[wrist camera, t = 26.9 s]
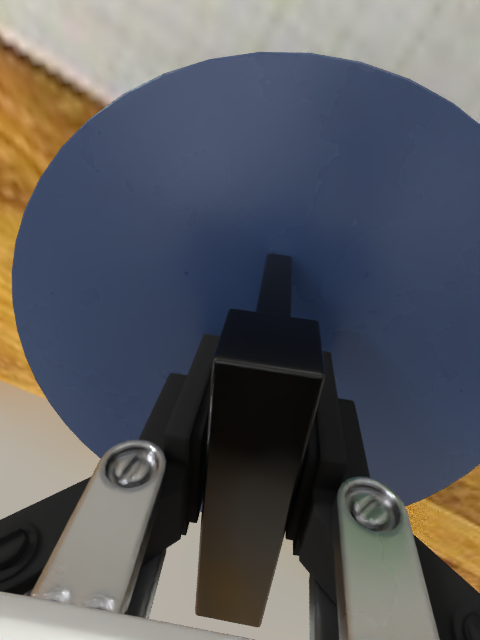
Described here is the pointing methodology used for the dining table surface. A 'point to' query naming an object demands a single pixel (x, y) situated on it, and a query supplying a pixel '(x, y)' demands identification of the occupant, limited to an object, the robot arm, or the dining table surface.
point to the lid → (263, 283)
